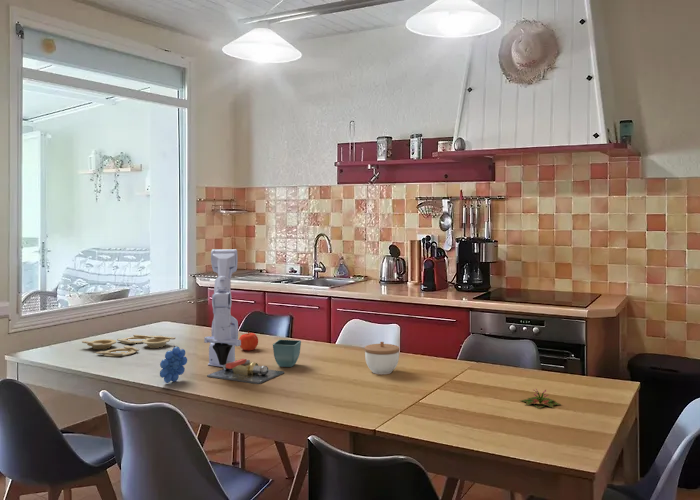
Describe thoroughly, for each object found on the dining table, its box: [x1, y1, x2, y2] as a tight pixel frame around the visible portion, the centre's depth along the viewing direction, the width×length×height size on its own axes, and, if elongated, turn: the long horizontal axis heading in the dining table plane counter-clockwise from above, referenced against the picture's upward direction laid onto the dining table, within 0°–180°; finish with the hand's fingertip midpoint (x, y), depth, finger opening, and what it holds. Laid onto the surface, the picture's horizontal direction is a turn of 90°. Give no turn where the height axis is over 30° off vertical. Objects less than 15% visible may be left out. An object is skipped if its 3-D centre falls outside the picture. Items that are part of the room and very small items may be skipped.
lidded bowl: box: [364, 341, 400, 375], centre depth 227 cm, size 13×13×11 cm
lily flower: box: [519, 388, 563, 409], centre depth 190 cm, size 12×12×5 cm
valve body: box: [206, 361, 285, 385], centre depth 223 cm, size 22×16×4 cm
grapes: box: [159, 346, 188, 384], centre depth 215 cm, size 12×7×12 cm, turn 147°
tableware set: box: [81, 334, 176, 358], centre depth 270 cm, size 35×29×4 cm
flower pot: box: [272, 339, 302, 368], centre depth 236 cm, size 9×9×9 cm
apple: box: [238, 330, 259, 352], centre depth 264 cm, size 8×8×8 cm
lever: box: [226, 358, 251, 369], centre depth 221 cm, size 11×3×2 cm, turn 154°
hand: (222, 364), depth 221 cm, fingers closed
